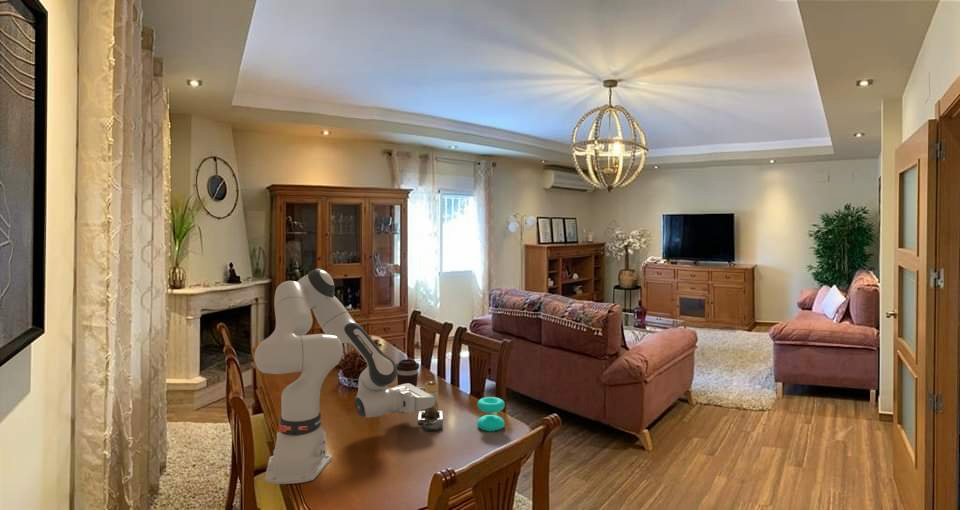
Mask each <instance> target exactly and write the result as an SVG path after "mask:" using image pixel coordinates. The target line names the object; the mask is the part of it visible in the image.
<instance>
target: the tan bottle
mask: <svg viewBox="0 0 960 510" xmlns="http://www.w3.org/2000/svg"><path fill="white" fill-rule="evenodd" d="M424 387H425V392H427V393H430V394H431V393H432V392H434V391H435V392H437V393H438V394H439V383H438V382H437V381H434V380H428V381H427V382H425V383H424ZM424 411H425V416H424V417H427V418H435V417H437V416H439V415H438V411H439V395H438V396H437V397H435V398H434V406H433V407H431V408H427V409H424Z"/></svg>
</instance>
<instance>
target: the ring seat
mask: <svg viewBox="0 0 960 510" xmlns="http://www.w3.org/2000/svg"><path fill="white" fill-rule="evenodd" d="M437 416H439V418H436V419H439V420H441V421H443V420H444V419H443V410H438V415H437ZM422 417H426V416H425V410H419V411H418V416H417V422H418V425H419V423H421V424H422V423H424V421H426V420H429V419H428V418H422ZM443 422H444V421H443Z"/></svg>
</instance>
